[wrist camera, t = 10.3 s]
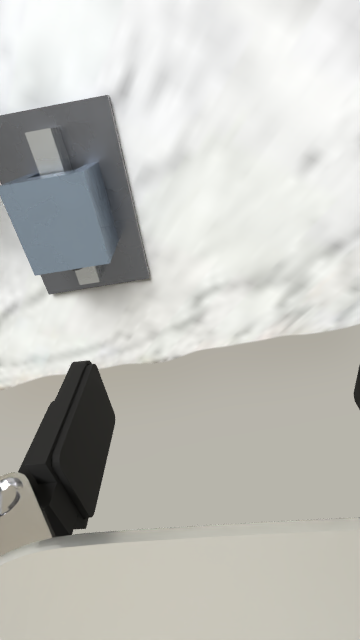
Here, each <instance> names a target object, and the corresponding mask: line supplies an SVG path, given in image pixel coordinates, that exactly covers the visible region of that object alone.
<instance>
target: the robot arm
mask: <svg viewBox="0 0 360 640" xmlns="http://www.w3.org/2000/svg"><path fill="white" fill-rule="evenodd" d="M354 399H355V402H356V404H357V406H358V407H359V409H360V366H359V371H358V375H357V380H356V385H355V389H354ZM114 425H115V414H114V411H113V408H112V406H111V403H110V400H109V398H108V395H107V392H106V390H105V387H104V385H103V382H102V379H101V377H100V374H99V371H98V368H97V366H96V365H95V364H92V363H91V362H90V361H79V362H73V363H72V364H71V366H70V368H69V371H68V373H67V375H66V377H65V379H64V382H63V384H62V386H61V388H60V390H59V392H58V395H57V397H56V399H55V401H53V402H52V403H51V404H50V406H49V407H48V410H47V412H46V414H45V416H44V418H43V420H42V422H41V424H40V427H39V429H38V431H37V433H36V435H35V438H34V439H33V442H32V444H31V446H30V448H29V450H28V452H27V454H26V457H25V458H24V461H23V463H22V465H21V467H20V469H19V471H18V473H17V472H13V473H8V474H5V475H3V476H0V640H360V517H358V518H336V519H316V520H296V521H278V522H260V523H241V524H223V525H204V526H187V527H170V528H154V529H137V530H123V531H110V532H97V533H84V534H75V535H72V532H73V529H86V526H87V522H88V518H89V517H92V516H93V515H94V512H95V508H96V504H97V499H98V495H99V491H100V486H101V482H102V477H103V473H104V468H105V464H106V460H107V456H108V451H109V447H110V442H111V438H112V434H113V430H114Z"/></svg>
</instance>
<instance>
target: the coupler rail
mask: <svg viewBox="0 0 360 640" xmlns="http://www.w3.org/2000/svg"><path fill="white" fill-rule="evenodd" d="M96 162H99V166H100V170H101V174H102V178H103V181H104V185H105V189H106V193H107V197H108V200H109V204H110V208H111V212H112V216H113V219H114V223H115V227H116V231H117V235H118V238H119V241H118V244H117V246H116V249H115V252H114V254H113V257H112V259H111V262H110V263H109V264H103V265H97V266H91V267H85V268H82V269H80V270H76V271H72V270H66V271H60V272H54V273H47V274H41V277H42V279H43V282H44V284H45V286H46V289H47V291H48V293H49V294H54V293H60V292H67V291H73V290H79V289H85V288H91V287H98V286H104V285H110V284H116V283H122V282H129V281H135V280H141V279H147V278H150V274H149V269H148V265H147V261H146V256H145V252H144V247H143V243H142V239H141V234H140V230H139V225H138V221H137V216H136V212H135V208H134V203H133V199H132V194H131V190H130V186H129V181H128V177H127V172H126V168H125V164H124V159H123V155H122V150H121V146H120V142H119V137H118V133H117V128H116V124H115V120H114V115H113V111H112V106H111V102H110V97H109V95H105V96H100V97H94V98H89V99H84V100H79V101H74V102H68V103H63V104H58V105H53V106H48V107H42V108H37V109H32V110H27V111H22V112H16V113H11V114H6V115H1V116H0V181H1V184H5V183H8V182H10V181H13V180H15V179H18V178H20V177H23V176H25V175H29V174H34V173H39V174H40V176H42V175H48V174H54V173H59V172H65V171H71V170H76V169H78V168H79V167H81V166H83V165H85V164H91V163H96Z"/></svg>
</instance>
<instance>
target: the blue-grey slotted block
mask: <svg viewBox="0 0 360 640" xmlns="http://www.w3.org/2000/svg"><path fill="white" fill-rule="evenodd" d="M0 196H1V199H2V201H3V203H4V205H5V208H6V210H7V212H8V215H9V217H10V219H11V222H12V224H13V226H14V228H15V231H16V233H17V235H18V238H19V240H20V242H21V245H22V247H23V249H24V251H25V254H26V256H27V258H28V261H29V263H30V265H31V268H32V270H33V272H34V274H35V275H41V274H47V273H54V272H60V271H66V270H72V271H76V270H80V269H82V268H85V267H91V266H97V265H103V264H109V263H110V262H111V259H112V257H113V254H114V252H115V249H116V246H117V244H118V241H119V238H118V235H117V231H116V227H115V223H114V219H113V216H112V212H111V208H110V204H109V200H108V197H107V193H106V189H105V185H104V181H103V178H102V174H101V170H100V166H99V162H96V163H91V164H85V165H83V166H81V167H79V168H78V169H76V170H71V171H65V172H59V173H54V174H48V175H42V176H40V174H39V173H34V174H29V175H25V176H23V177H20V178H18V179H15V180H13V181H10V182H8V183H5V184H2V185H0Z"/></svg>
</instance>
